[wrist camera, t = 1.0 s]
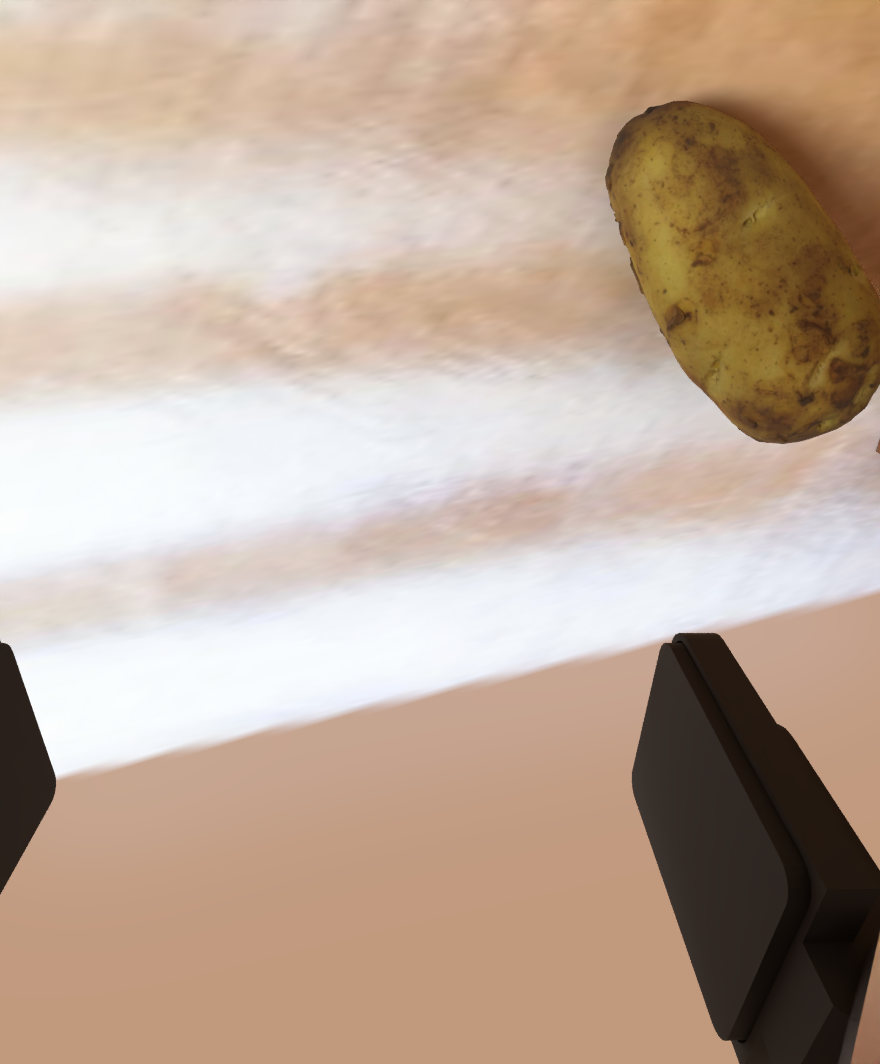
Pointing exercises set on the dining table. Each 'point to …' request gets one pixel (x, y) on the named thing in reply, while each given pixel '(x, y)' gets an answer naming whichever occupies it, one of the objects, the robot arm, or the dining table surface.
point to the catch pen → (879, 448)
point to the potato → (745, 273)
